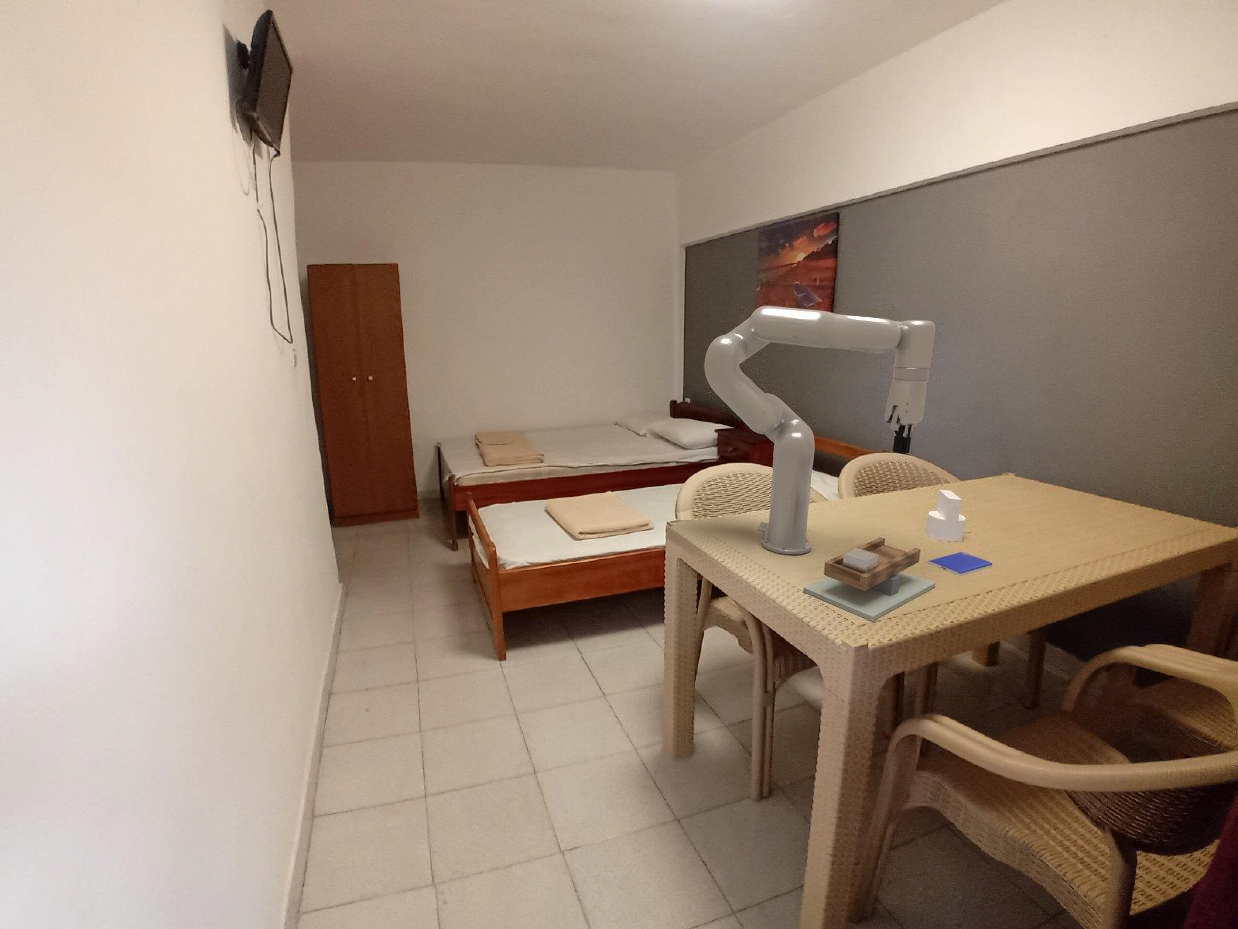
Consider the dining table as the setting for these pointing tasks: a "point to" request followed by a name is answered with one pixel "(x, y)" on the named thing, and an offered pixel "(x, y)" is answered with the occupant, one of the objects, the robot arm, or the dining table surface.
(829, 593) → the beam stand
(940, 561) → the hard drive
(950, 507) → the base with upright slab
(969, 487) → the dining table surface
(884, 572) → the beam
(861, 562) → the steel block
